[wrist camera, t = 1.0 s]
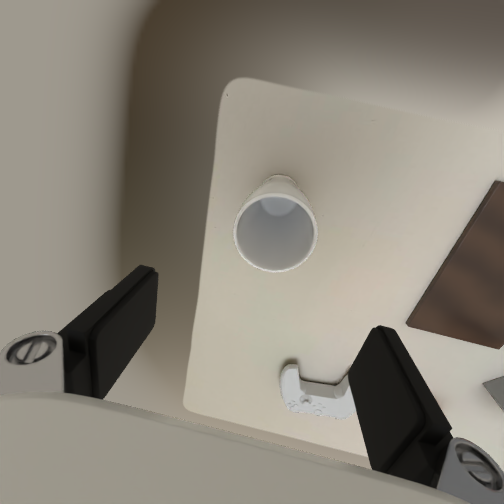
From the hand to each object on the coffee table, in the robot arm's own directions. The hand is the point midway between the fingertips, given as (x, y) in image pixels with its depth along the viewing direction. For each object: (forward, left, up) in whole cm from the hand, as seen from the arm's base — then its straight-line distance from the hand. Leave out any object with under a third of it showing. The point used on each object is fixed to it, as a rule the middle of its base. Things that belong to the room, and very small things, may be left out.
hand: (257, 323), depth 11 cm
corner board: (-14, +28, -25) cm, 40 cm away
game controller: (+18, +30, -25) cm, 43 cm away
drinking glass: (0, 0, -25) cm, 25 cm away
